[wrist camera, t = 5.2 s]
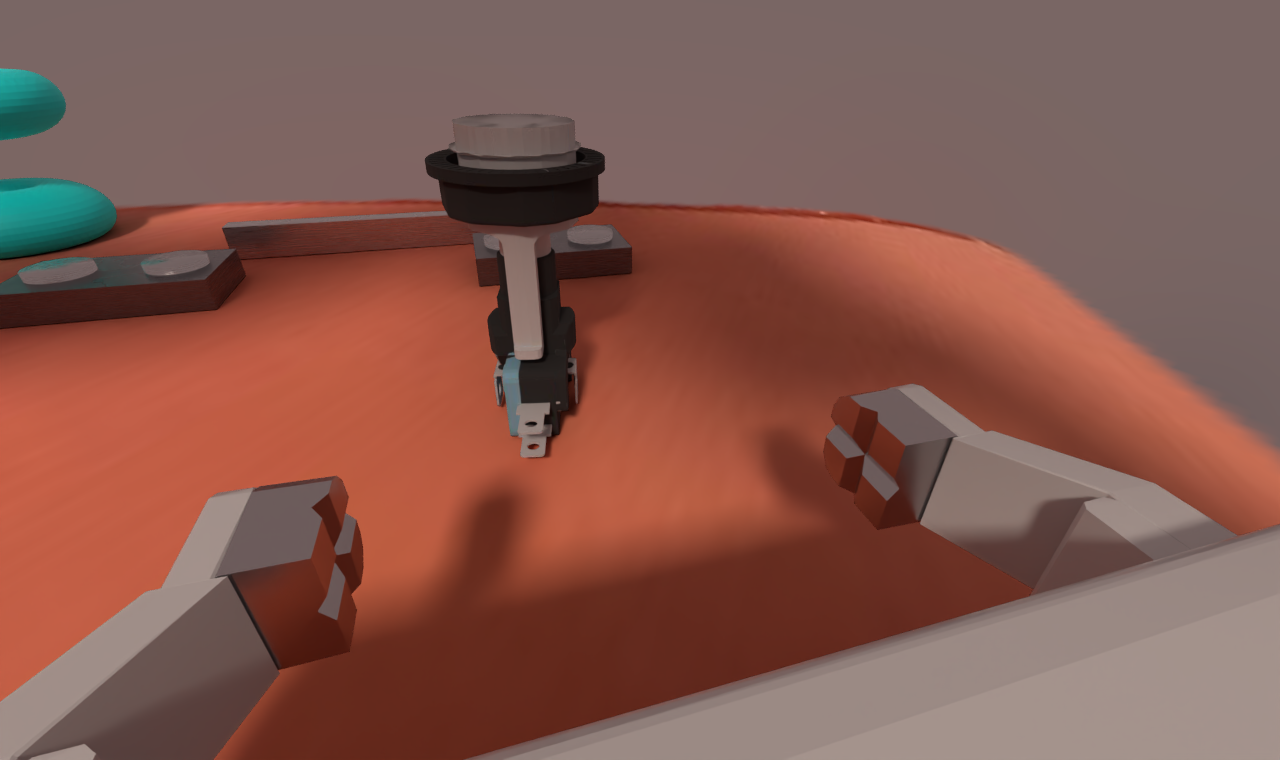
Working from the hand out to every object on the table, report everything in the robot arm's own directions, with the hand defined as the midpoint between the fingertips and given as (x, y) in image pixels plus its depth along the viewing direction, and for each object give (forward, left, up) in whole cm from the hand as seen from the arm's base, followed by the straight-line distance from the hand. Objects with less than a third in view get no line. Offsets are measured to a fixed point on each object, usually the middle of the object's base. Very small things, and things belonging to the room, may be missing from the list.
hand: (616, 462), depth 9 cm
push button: (0, +11, -6) cm, 12 cm away
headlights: (-8, +29, -6) cm, 31 cm away
